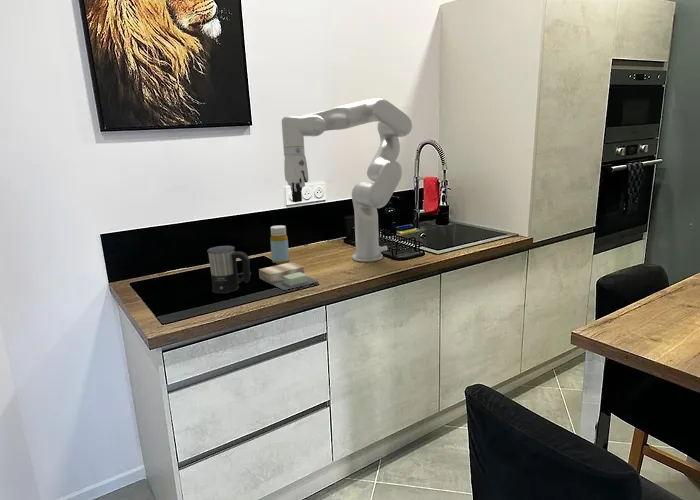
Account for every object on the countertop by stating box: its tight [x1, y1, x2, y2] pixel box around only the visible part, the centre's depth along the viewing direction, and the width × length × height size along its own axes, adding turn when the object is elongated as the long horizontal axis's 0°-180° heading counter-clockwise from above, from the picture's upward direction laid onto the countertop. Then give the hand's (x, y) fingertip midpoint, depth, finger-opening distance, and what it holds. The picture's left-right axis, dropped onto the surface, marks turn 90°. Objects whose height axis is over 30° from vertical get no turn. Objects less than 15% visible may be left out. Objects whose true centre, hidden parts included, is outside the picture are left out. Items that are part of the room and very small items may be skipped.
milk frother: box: [206, 245, 252, 294], centre depth 170 cm, size 14×16×15 cm
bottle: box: [269, 224, 290, 265], centre depth 198 cm, size 7×7×15 cm
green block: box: [283, 272, 308, 286], centre depth 172 cm, size 7×5×2 cm
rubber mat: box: [270, 275, 320, 291], centre depth 172 cm, size 14×10×1 cm
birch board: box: [258, 261, 305, 285], centre depth 180 cm, size 14×9×4 cm, turn 126°
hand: (297, 201), depth 180 cm, fingers closed
